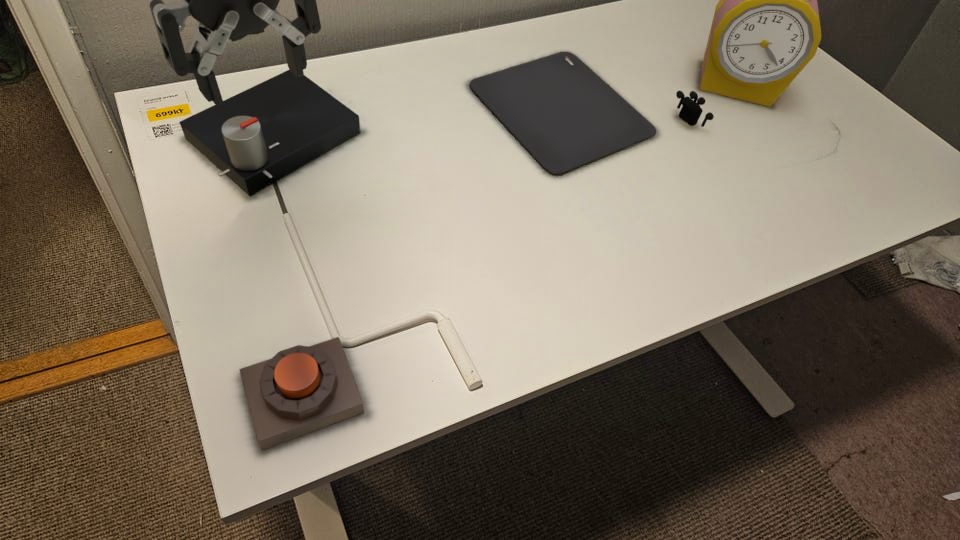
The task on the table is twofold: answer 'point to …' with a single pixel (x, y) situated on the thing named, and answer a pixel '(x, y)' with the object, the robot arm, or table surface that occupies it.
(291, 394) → the button
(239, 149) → the dial
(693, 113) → the wireless earbuds
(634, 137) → the mouse pad
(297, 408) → the button block
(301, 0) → the robot arm
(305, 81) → the stove panel
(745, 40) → the alarm clock
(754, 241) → the table surface
